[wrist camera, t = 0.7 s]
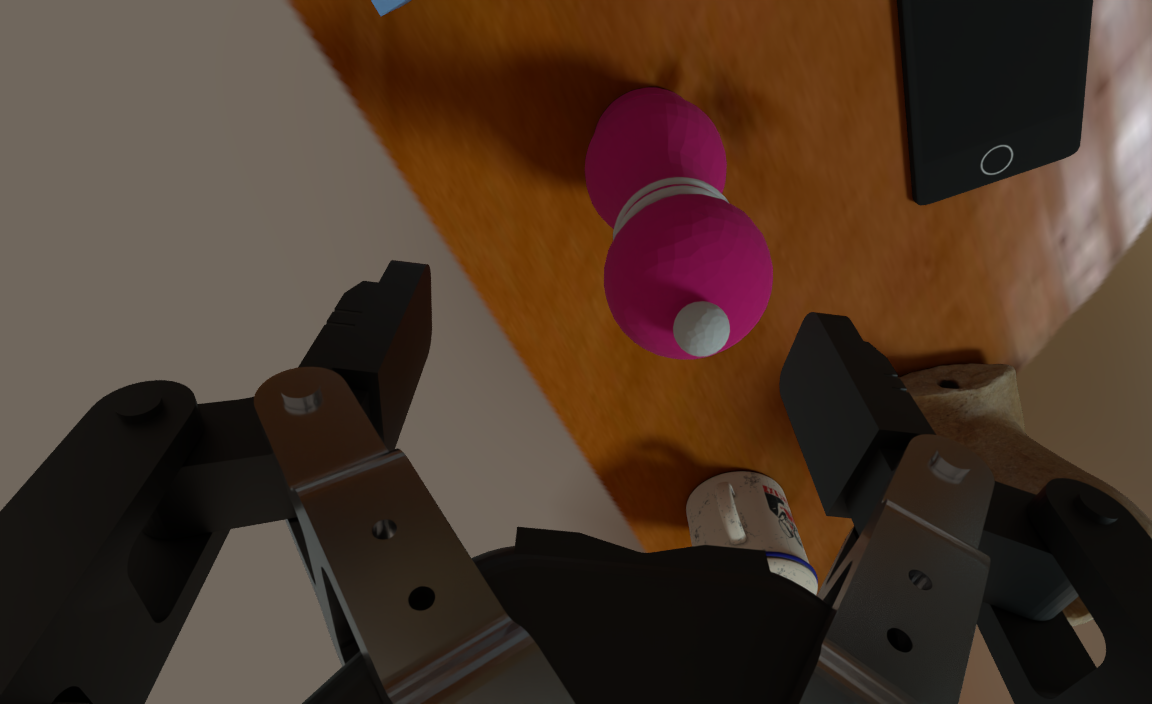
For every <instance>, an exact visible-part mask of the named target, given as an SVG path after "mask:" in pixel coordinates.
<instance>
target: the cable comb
mask: <svg viewBox="0 0 1152 704" xmlns="http://www.w3.org/2000/svg"><path fill="white" fill-rule="evenodd" d="M371 1H372V3H373V4H374V6H375V8H376V9H377V11H378V13H379V14H380V16H383V15H385V14H387V13H389V12H391V11H393V10H395V9H396V8H399V7H401V6H403V5H405V4H407V3H408V2H410V1H411V0H371Z"/></svg>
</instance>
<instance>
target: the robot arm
mask: <svg viewBox="0 0 1152 704" xmlns="http://www.w3.org/2000/svg"><path fill="white" fill-rule="evenodd" d="M431 310H432V307H431V273H430V267H429V265H428V264H420V263H411V262H403V261H394V260H392V261H391V262H390V263H389V265H388V267H387V269H386V270H385V272H384V274H383V276H382V278H381V279H380V281H379V283H377V282H369V281H368V282H367V281H362V282H361V283H359V284H358V285H356V286H355V287H353V288H351V289H350V290H348V291H347V292H345V293H344V295H343V296H342V298H341V300H340V301H339V302H338V304H337V306H336V307H335V311H334V312H332V314H331V315H330V317H329V319H328V320H327V324H326V325H324V327H323V328H322V330H321V332H320V333H319V335H318V336H317V338H316V340H315V341H314V343H313V344H312V346H311V347H310V349H309V351H308V352H307V354H306V356H305V357H304V359H303V360H302V362H301V364H300V365H299V367H298V368H294V369H289V370H286V371H283V372H281V373H278V374H276V375H274V376H272V377H271V378H269V379H268V380H266V381H265V382H264V383H263V384H262V385H261V386H260V387H259V388H258V390H257V392H256V394H255V396H254V397H251V398H246V399H239V400H231V401H222V402H213V403H205V404H197V401H196V399H195V396H194V393H193V392H192V391H191V390H190V389H189V388H188V387H186V386H185V385H182V384H180V383H177V382H173V381H165V380H155V381H145V382H140V383H136V384H132V385H128V386H126V387H123V388H120V389H118V390H116V391H114V392H112V393H110V394H108V395H106V396H105V397H103V398H102V399H101V400H99V401H98V402H97V403H96V404H95V405H94V406H93V407H92V408H91V409H90V410H89V411H88V412H87V413H86V414H85V416H84V417H83V418H82V419H81V420H80V421H79V422H78V423H77V425H76V426H75V427H74V428H73V429H72V430H71V432H70V433H69V434H68V435H67V436H66V437H65V438H64V440H63V441H62V442H61V443H60V444H59V445H58V446H57V447H56V449H55V450H54V451H53V452H52V453H51V454H50V455H49V457H48V458H47V459H46V460H45V461H44V462H43V464H42V465H41V466H40V467H39V468H38V469H37V470H36V471H35V473H34V474H33V475H32V476H31V477H30V478H29V479H28V480H27V482H26V483H25V484H24V485H23V486H22V487H21V488H20V490H19V491H18V492H17V493H16V494H15V495H14V496H13V498H12V499H11V500H10V501H9V502H8V503H7V504H6V506H5V507H4V508H3V509H2V510H1V511H0V704H145V702H146V700H147V698H148V695H149V694H150V692H151V690H152V688H153V686H154V684H155V681H156V679H157V677H158V675H159V673H160V671H161V669H162V667H163V665H164V663H165V661H166V659H167V657H168V655H169V653H170V651H171V649H172V647H173V645H174V643H175V641H176V639H177V637H178V635H179V633H180V631H181V629H182V627H183V624H184V623H185V620H186V618H187V616H188V614H189V612H190V610H191V608H192V606H193V604H194V602H195V600H196V598H197V596H198V594H199V592H200V590H201V588H202V586H203V584H204V582H205V580H206V578H207V576H208V574H209V572H210V570H211V568H212V566H213V563H214V562H215V560H216V558H217V555H218V554H219V551H220V549H221V547H222V545H223V543H224V541H225V539H226V537H227V535H228V533H229V531H230V529H233V528H239V527H245V526H250V525H256V524H262V523H268V522H273V521H279V520H286V523H287V526H288V528H289V530H290V533H291V535H292V538H293V540H294V543H295V545H296V547H297V550H298V552H299V555H300V557H301V560H302V562H303V564H304V567H305V570H306V572H307V574H308V577H309V579H310V582H311V584H312V586H313V589H314V591H315V594H316V596H317V599H318V602H319V604H320V607H321V610H322V613H323V616H324V619H325V622H326V625H327V628H328V631H329V634H330V637H331V640H332V642H333V645H334V647H335V650H336V653H337V655H338V658H339V660H340V663H341V665H342V668H341V669H340V670H338V671H337V672H336V673H335V674H334V675H333V676H332V677H331V678H330V679H328V681H326V682H325V683H324V684H323V685H322V686H321V687H320V688H319V689H318V690H316V691H315V692H314V693H313V694H312V695H311V696H310V697H309V698H308V699H306V700H305V702H303V703H302V704H958V702H959V698H960V693H961V689H962V685H963V681H964V676H965V671H966V668H967V663H968V659H969V654H970V650H971V646H972V642H973V637H974V633H975V629H976V624H977V625H978V627H979V630H980V632H981V634H982V636H983V638H984V640H985V642H986V644H987V646H988V649H989V651H990V653H991V655H992V657H993V659H994V661H995V663H996V665H997V667H998V670H999V672H1000V674H1001V676H1002V678H1003V680H1004V682H1005V684H1006V687H1007V689H1008V691H1009V693H1010V695H1011V697H1012V699H1013V701H1014V703H1015V704H1152V538H1151V537H1150V536H1149V535H1148V533H1147V532H1146V531H1145V530H1144V528H1143V527H1142V526H1141V525H1140V524H1139V522H1138V521H1137V520H1136V519H1135V517H1134V516H1133V515H1132V514H1131V513H1130V512H1129V511H1128V510H1127V509H1126V508H1125V507H1124V506H1123V505H1122V504H1120V503H1119V502H1118V501H1117V500H1115V499H1114V498H1112V497H1111V496H1109V495H1108V494H1106V493H1105V492H1103V491H1101V490H1099V489H1097V488H1095V487H1093V486H1091V485H1089V484H1086V483H1084V482H1081V481H1077V480H1074V479H1069V478H1056V479H1052V480H1051V481H1049V482H1048V483H1047V484H1046V485H1045V486H1044V487H1043V488H1042V489H1041V491H1040V492H1039V493H1038V494H1037V495H1036V494H1033V493H1030V492H1027V491H1024V490H1021V489H1018V488H1015V487H1012V486H1009V485H1006V484H1003V483H1000V482H997V481H994V476H993V474H992V472H991V470H990V468H989V467H988V466H987V464H986V463H985V462H984V461H983V460H982V459H981V458H980V457H979V456H978V455H977V454H975V453H974V452H973V451H971V450H970V449H968V448H967V447H965V446H964V445H962V444H960V443H958V442H956V441H954V440H951V439H948V438H946V437H942V436H938V435H936V433H935V432H934V430H933V429H932V427H931V426H930V424H929V423H928V421H927V419H926V418H925V416H924V415H923V413H922V412H921V410H920V409H919V407H918V405H917V404H916V402H915V401H914V399H913V398H912V396H911V395H910V393H909V392H906V390H907V388H906V387H905V385H904V384H903V382H902V381H901V379H900V378H897V377H898V374H897V373H896V371H895V370H894V368H893V367H892V365H891V363H890V362H889V360H888V359H887V358H886V357H885V356H884V355H883V354H882V353H881V352H879V351H878V350H877V349H876V348H875V347H873V346H872V345H871V344H870V343H869V342H865V341H863V339H862V338H861V336H860V335H859V333H858V331H857V330H856V328H855V326H854V325H853V323H852V322H851V320H850V319H849V318H848V317H846V316H840V315H832V314H824V313H816V312H811V313H809V314H808V315H807V316H806V317H805V318H804V320H803V322H802V324H801V327H800V329H799V331H798V333H797V336H796V338H795V340H794V343H793V345H792V347H791V349H790V352H789V354H788V356H787V359H786V361H785V363H784V366H783V368H782V371H781V375H780V395H781V398H782V400H783V403H784V406H785V408H786V411H787V414H788V416H789V419H790V421H791V424H792V427H793V429H794V432H795V435H796V437H797V440H798V442H799V445H800V448H801V450H802V453H803V456H804V458H805V461H806V463H807V466H808V469H809V471H810V474H811V477H812V479H813V482H814V484H815V487H816V490H817V492H818V495H819V498H820V500H821V503H822V506H823V508H824V511H825V513H826V516H834V517H844V518H852V521H853V523H854V526H853V528H852V529H851V531H850V532H849V534H848V535H847V537H846V539H845V541H844V543H843V545H842V547H841V549H840V551H839V553H838V555H837V557H836V559H835V561H834V563H833V565H832V567H831V569H830V571H829V573H828V575H827V577H826V579H825V581H824V583H823V585H822V587H821V589H820V591H819V593H818V595H817V596H816V595H815V594H813V593H812V592H810V591H809V590H807V589H806V588H804V587H803V586H801V585H799V584H797V583H795V582H794V581H792V580H790V579H788V578H785V577H783V576H781V575H779V574H776V573H774V572H771V571H770V568H769V564H768V560H767V556H766V553H765V550H755V549H745V548H734V547H724V546H713V545H700V546H693V547H686V548H680V549H673V550H666V551H659V552H652V553H641V552H637V551H634V550H631V549H628V548H625V547H622V546H619V545H615V544H612V543H609V542H606V541H603V540H600V539H597V538H594V537H591V536H588V535H585V534H582V533H577V532H567V531H556V530H546V529H535V528H524V527H517V534H516V542H515V546H511V547H505V548H500V549H496V550H493V551H489V552H486V553H483V554H481V555H479V556H476V557H473V558H471V557H470V555H469V554H468V552H467V551H466V549H465V548H464V546H463V545H462V543H461V541H460V540H459V538H458V537H457V535H456V533H455V532H454V530H453V529H452V527H451V526H450V524H449V522H448V521H447V519H446V518H445V516H444V515H443V513H442V511H441V510H440V508H439V507H438V505H437V504H436V502H435V500H434V499H433V497H432V496H431V494H430V493H429V491H428V489H427V488H426V486H425V485H424V483H423V481H422V480H421V478H420V477H419V475H418V473H417V472H416V470H415V469H414V467H413V466H412V464H411V462H410V461H409V459H408V458H407V456H406V455H405V454H404V453H403V452H402V451H401V450H400V449H395V447H396V444H397V441H398V438H399V435H400V432H401V430H402V426H403V424H404V421H405V418H406V415H407V413H408V410H409V407H410V404H411V402H412V399H413V396H414V393H415V390H416V387H417V385H418V382H419V379H420V376H421V373H422V371H423V368H424V365H425V362H426V359H427V357H428V353H429V349H430V344H431V335H432V311H431ZM1078 596H1079V597H1080V599H1081V600H1082V602H1083V603H1084V605H1085V606H1086V608H1087V610H1088V611H1089V613H1090V614H1091V616H1092V617H1093V619H1094V620H1095V622H1096V624H1097V625H1098V627H1099V628H1100V630H1101V632H1102V633H1103V636H1104V639H1105V643H1106V656H1105V659H1104V661H1103V663H1102V664H1101V665H1100V666H1099V667H1098V668H1096V666H1095V664H1094V663H1093V661H1092V659H1091V658H1090V656H1089V654H1088V653H1087V651H1086V650H1085V648H1084V646H1083V644H1082V643H1081V641H1080V639H1079V638H1078V636H1077V635H1076V633H1075V631H1074V629H1073V628H1072V626H1071V624H1070V623H1069V621H1068V619H1067V618H1066V616H1065V615H1064V613H1063V611H1062V610H1063V609H1064V608H1065V607H1067V606H1068V605H1069V604H1070V603H1071V602H1072V601H1074V600H1075V599H1076V598H1077V597H1078Z"/></svg>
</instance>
